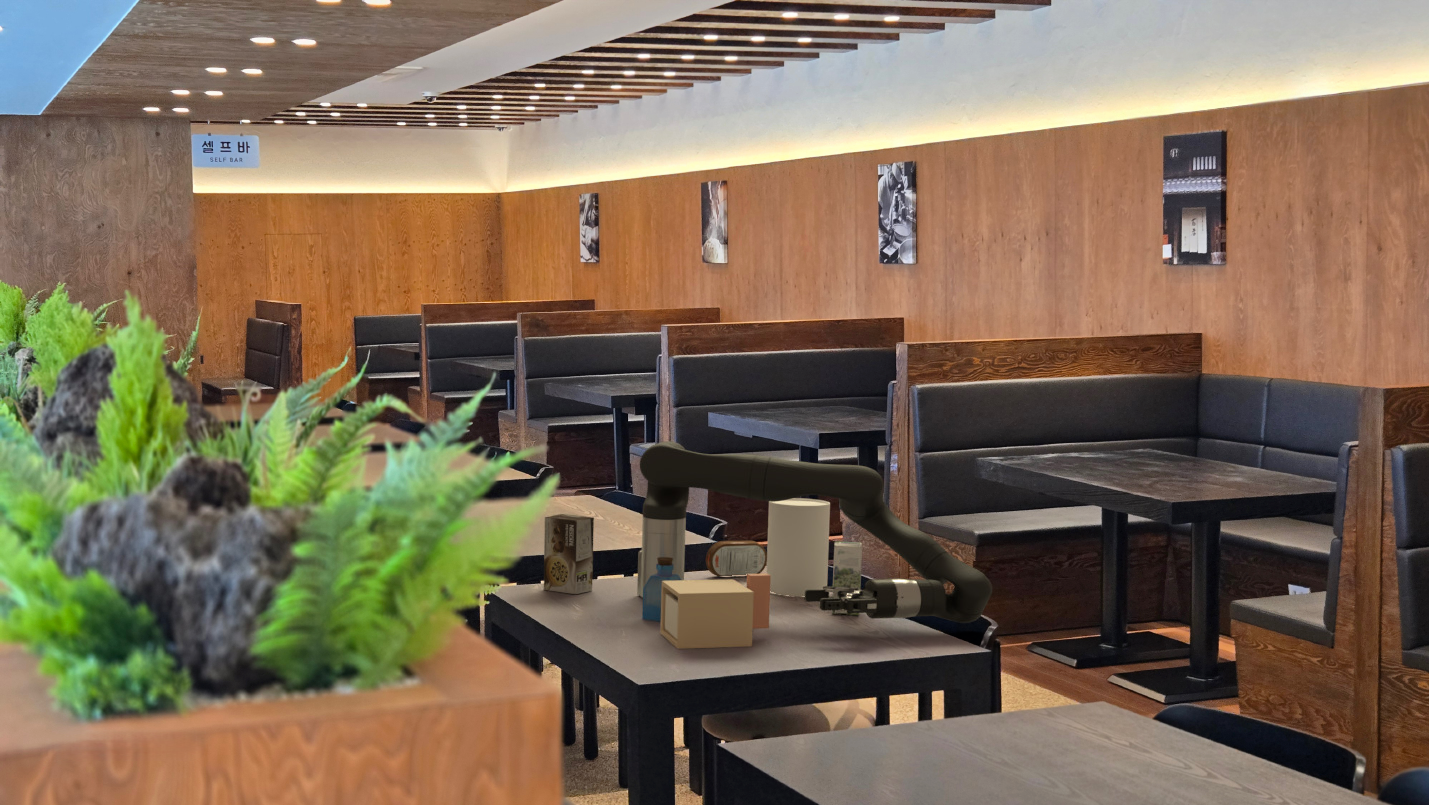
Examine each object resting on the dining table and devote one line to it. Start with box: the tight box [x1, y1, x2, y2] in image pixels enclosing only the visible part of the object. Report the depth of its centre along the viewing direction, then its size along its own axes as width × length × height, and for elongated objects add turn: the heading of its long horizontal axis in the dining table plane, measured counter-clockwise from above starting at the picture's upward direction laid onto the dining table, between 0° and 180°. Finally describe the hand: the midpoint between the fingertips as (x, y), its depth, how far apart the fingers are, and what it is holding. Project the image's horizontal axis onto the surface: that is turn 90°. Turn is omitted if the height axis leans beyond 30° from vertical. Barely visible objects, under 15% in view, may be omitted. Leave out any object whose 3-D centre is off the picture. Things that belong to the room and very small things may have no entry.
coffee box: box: [543, 513, 595, 595], centre depth 310 cm, size 9×6×16 cm
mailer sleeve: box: [659, 578, 754, 650], centre depth 265 cm, size 14×13×10 cm
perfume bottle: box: [641, 557, 681, 623], centre depth 283 cm, size 6×6×12 cm
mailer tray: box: [665, 573, 771, 639], centre depth 265 cm, size 18×11×11 cm, turn 106°
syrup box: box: [831, 541, 863, 616], centre depth 295 cm, size 6×6×14 cm
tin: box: [705, 540, 767, 577], centre depth 334 cm, size 15×3×8 cm, turn 114°
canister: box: [766, 497, 831, 596], centre depth 317 cm, size 14×14×20 cm
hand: (812, 600), depth 271 cm, fingers open, 8 cm apart
